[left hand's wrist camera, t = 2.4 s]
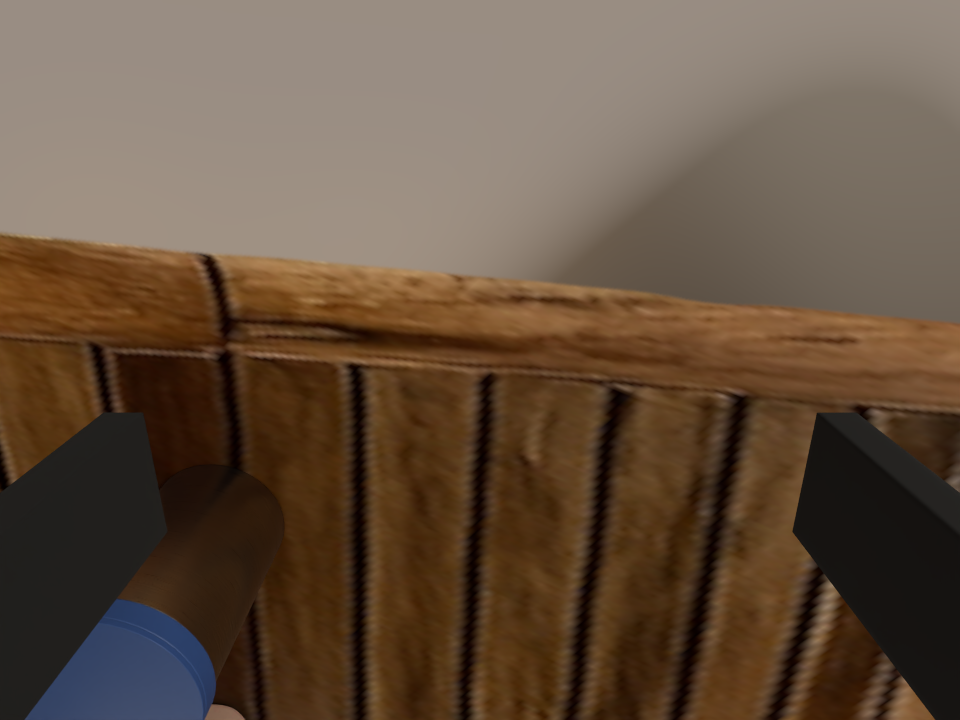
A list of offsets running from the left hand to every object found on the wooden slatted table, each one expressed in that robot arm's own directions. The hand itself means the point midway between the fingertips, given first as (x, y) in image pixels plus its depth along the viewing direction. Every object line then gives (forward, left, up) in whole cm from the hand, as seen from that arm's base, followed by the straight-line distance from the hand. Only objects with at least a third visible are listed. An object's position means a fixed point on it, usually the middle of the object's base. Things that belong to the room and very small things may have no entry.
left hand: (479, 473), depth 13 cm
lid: (-21, +19, -13) cm, 31 cm away
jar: (-21, +19, -28) cm, 40 cm away
